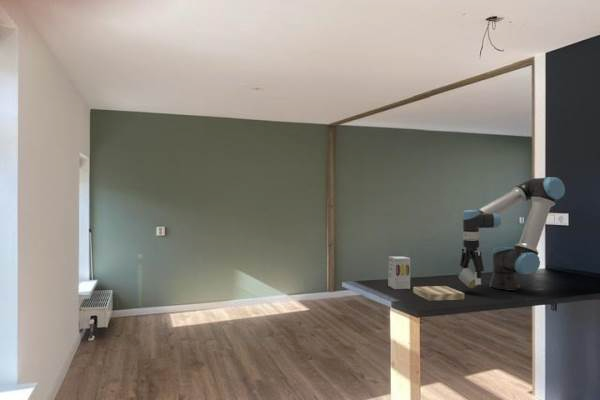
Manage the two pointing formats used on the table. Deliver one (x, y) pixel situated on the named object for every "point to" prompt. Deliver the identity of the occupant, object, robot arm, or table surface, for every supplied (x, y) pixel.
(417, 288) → the square wooden tile
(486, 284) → the table surface
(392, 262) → the supplement box
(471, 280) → the ceramic mug
